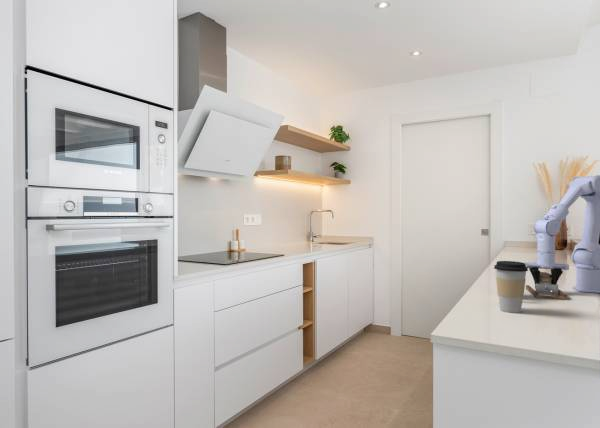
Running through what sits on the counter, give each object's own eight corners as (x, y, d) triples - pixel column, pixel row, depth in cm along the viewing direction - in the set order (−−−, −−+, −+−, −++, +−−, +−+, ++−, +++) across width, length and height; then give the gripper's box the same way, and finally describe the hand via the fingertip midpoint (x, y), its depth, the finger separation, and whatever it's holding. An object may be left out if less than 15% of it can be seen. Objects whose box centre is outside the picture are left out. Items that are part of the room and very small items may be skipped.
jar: (547, 284, 155) (550, 272, 152) (551, 293, 151) (554, 281, 148) (533, 283, 157) (535, 271, 154) (536, 292, 153) (539, 280, 150)
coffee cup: (533, 314, 122) (534, 265, 121) (501, 314, 122) (502, 264, 121) (517, 306, 131) (518, 260, 131) (488, 306, 131) (488, 260, 131)
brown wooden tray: (554, 290, 156) (555, 286, 156) (568, 300, 140) (568, 295, 140) (525, 288, 159) (525, 285, 159) (536, 297, 143) (536, 293, 143)
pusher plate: (557, 295, 148) (557, 284, 148) (564, 300, 140) (564, 288, 140) (535, 293, 150) (535, 283, 150) (541, 298, 142) (541, 287, 142)
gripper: (563, 251, 152) (563, 287, 153) (521, 250, 156) (520, 285, 156) (571, 253, 145) (570, 291, 146) (526, 252, 149) (526, 288, 149)
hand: (545, 288), depth 150 cm, fingers closed on jar, 5 cm apart
